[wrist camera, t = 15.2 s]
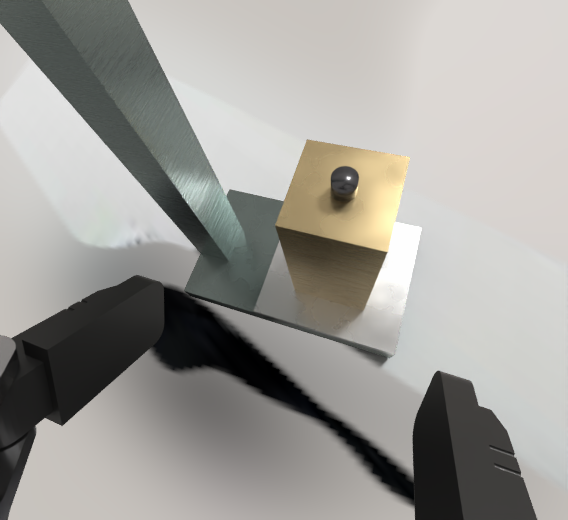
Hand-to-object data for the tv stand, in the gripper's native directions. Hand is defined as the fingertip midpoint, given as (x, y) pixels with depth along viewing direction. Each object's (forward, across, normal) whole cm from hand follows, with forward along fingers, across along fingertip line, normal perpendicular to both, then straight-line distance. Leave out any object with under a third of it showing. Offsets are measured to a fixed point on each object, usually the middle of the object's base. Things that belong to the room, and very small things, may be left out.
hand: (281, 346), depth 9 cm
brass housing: (+15, 0, +4) cm, 16 cm away
